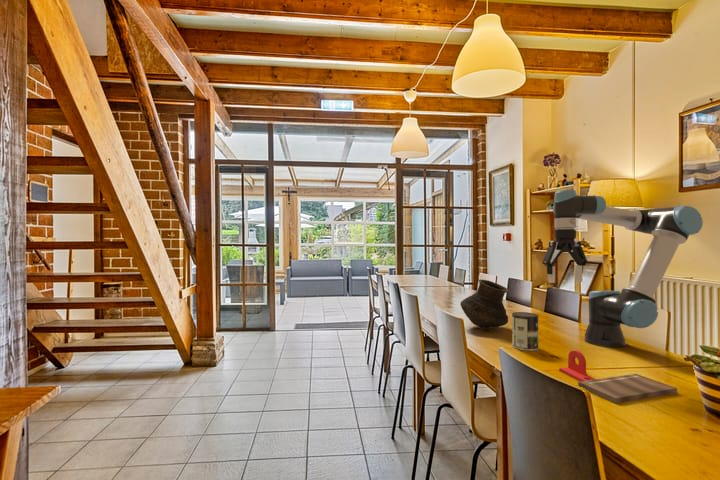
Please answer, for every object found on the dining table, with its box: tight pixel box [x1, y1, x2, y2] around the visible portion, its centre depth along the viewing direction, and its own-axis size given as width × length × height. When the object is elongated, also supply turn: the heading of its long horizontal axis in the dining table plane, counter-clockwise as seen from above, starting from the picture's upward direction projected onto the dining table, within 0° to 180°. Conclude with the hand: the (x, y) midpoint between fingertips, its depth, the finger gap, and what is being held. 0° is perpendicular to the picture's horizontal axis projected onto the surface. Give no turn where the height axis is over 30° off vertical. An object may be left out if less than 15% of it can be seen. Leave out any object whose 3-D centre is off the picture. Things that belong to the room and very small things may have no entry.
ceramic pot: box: [460, 279, 509, 329], centre depth 186 cm, size 24×24×22 cm
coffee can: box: [511, 311, 539, 352], centre depth 153 cm, size 10×10×14 cm
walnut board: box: [577, 373, 678, 404], centre depth 109 cm, size 24×12×2 cm, turn 106°
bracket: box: [559, 350, 596, 382], centre depth 119 cm, size 12×4×8 cm, turn 9°
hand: (565, 282), depth 144 cm, fingers open, 13 cm apart
